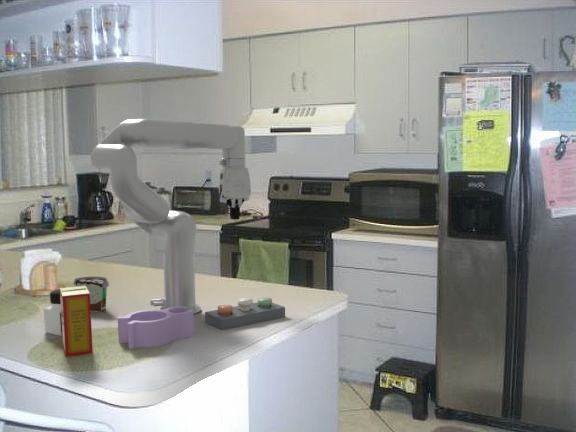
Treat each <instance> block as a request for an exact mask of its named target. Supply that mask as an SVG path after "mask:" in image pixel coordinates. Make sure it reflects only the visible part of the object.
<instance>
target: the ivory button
mask: <svg viewBox="0 0 576 432" xmlns="http://www.w3.org/2000/svg"><path fill="white" fill-rule="evenodd" d="M253 303H254V301H253V298H249V297H242V298H238V299H237V306H241V311H243V312H245V311H250V306H252V305H253Z"/></svg>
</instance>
